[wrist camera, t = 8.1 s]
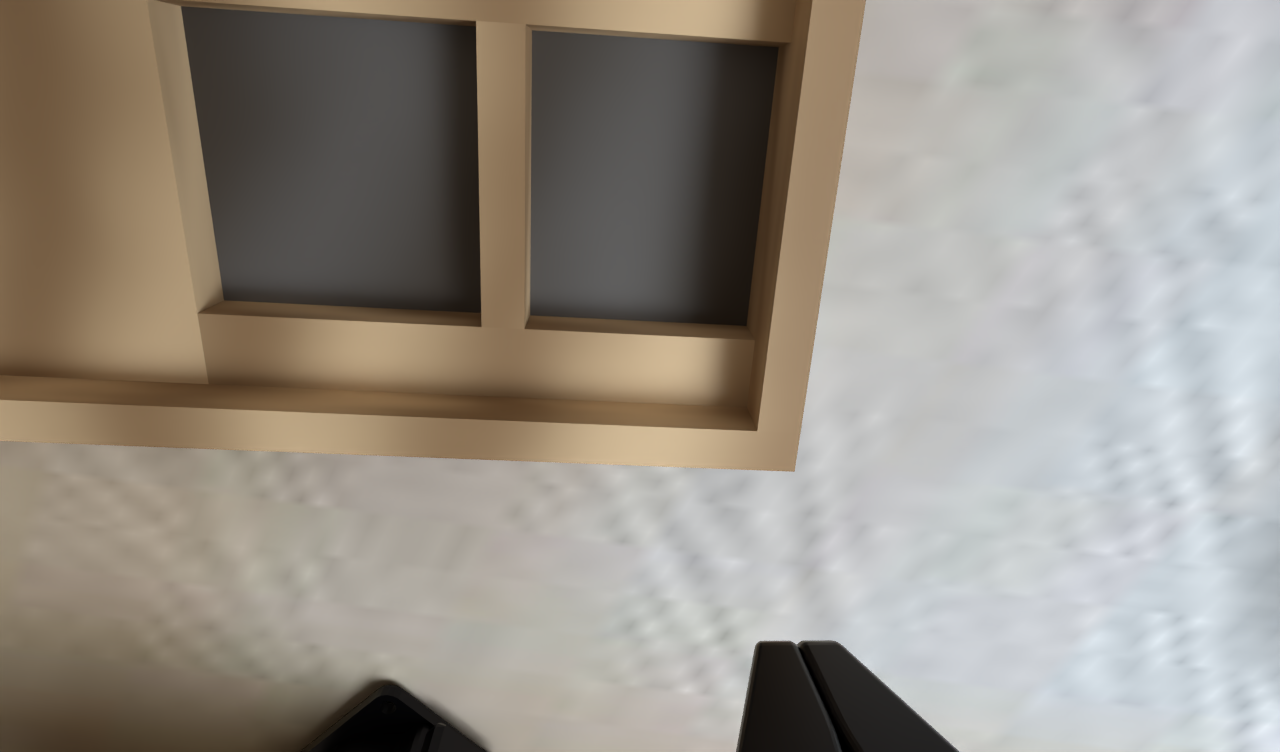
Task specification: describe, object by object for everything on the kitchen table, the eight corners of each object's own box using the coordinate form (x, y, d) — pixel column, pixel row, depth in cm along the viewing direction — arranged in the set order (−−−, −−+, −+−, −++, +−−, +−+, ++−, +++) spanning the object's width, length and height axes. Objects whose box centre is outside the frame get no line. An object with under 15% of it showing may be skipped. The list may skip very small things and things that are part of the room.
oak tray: (-401, 370, 18) (-586, 418, 15) (-674, -206, 14) (-999, -285, 11) (768, 419, 20) (794, 471, 17) (836, -88, 15) (885, -131, 13)
